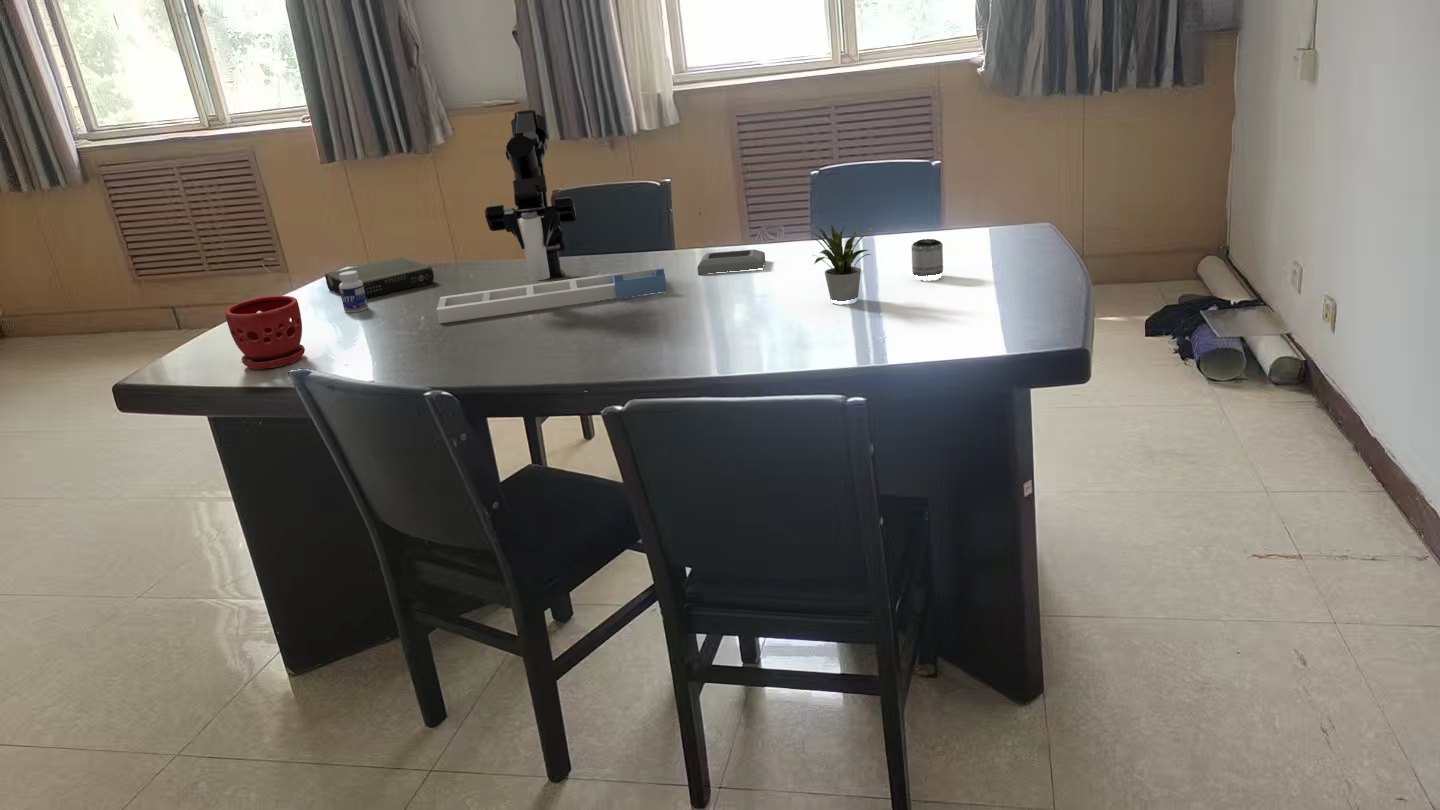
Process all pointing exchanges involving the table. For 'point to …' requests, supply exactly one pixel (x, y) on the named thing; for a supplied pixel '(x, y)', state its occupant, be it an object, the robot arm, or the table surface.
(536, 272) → the white capped cylinder
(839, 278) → the house plant
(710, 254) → the gray box with screen
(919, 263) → the camera lens
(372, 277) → the network switch
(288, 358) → the plant pot
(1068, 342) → the table surface
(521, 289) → the white and blue ladder
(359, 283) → the pill bottle
